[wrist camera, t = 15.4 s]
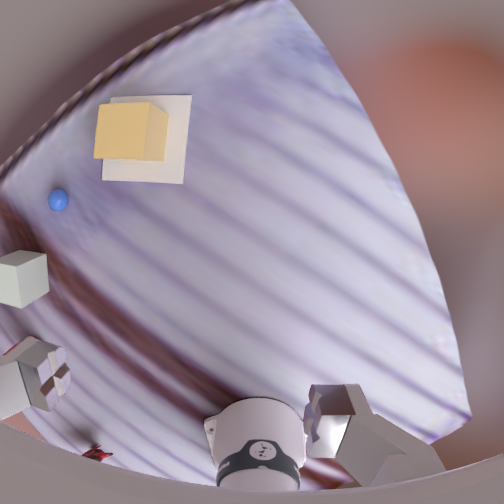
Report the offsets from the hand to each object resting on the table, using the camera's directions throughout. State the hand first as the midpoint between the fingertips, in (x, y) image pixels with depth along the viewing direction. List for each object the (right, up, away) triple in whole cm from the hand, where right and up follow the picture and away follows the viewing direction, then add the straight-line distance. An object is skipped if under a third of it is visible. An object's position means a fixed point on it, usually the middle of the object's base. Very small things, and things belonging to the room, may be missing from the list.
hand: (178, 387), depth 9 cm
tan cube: (-12, +19, +30) cm, 38 cm away
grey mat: (-12, +20, +31) cm, 38 cm away
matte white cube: (-34, +1, +35) cm, 49 cm away
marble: (-26, +12, +31) cm, 42 cm away
